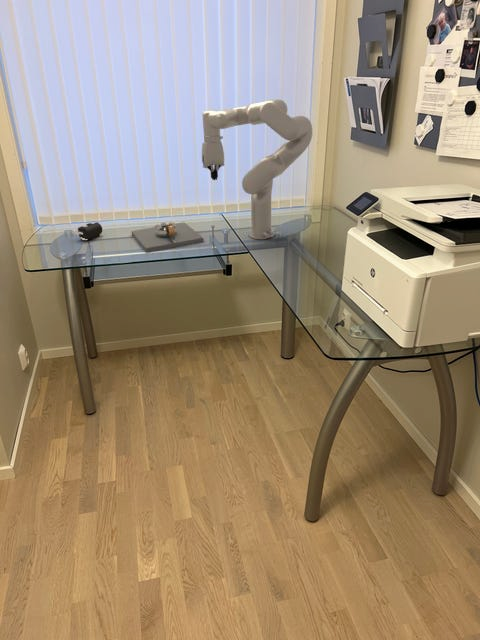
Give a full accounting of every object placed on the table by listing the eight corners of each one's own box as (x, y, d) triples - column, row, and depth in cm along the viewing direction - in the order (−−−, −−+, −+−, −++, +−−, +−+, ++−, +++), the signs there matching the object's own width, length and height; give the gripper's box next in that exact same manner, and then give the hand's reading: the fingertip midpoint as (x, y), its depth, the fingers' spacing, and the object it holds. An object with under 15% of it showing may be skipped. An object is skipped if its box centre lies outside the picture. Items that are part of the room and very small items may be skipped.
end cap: (90, 242, 229) (87, 228, 226) (79, 240, 232) (76, 227, 229) (103, 235, 237) (101, 222, 234) (93, 234, 240) (90, 221, 237)
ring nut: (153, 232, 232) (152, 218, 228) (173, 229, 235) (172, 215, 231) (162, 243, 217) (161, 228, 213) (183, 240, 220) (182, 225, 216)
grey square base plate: (203, 241, 224) (203, 237, 223) (146, 252, 214) (145, 247, 213) (184, 225, 246) (184, 221, 245) (131, 234, 236) (131, 230, 235)
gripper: (223, 136, 224) (225, 176, 233) (194, 139, 219) (197, 179, 228) (230, 138, 218) (231, 178, 227) (200, 141, 213) (202, 182, 222)
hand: (214, 179), depth 227 cm, fingers closed
